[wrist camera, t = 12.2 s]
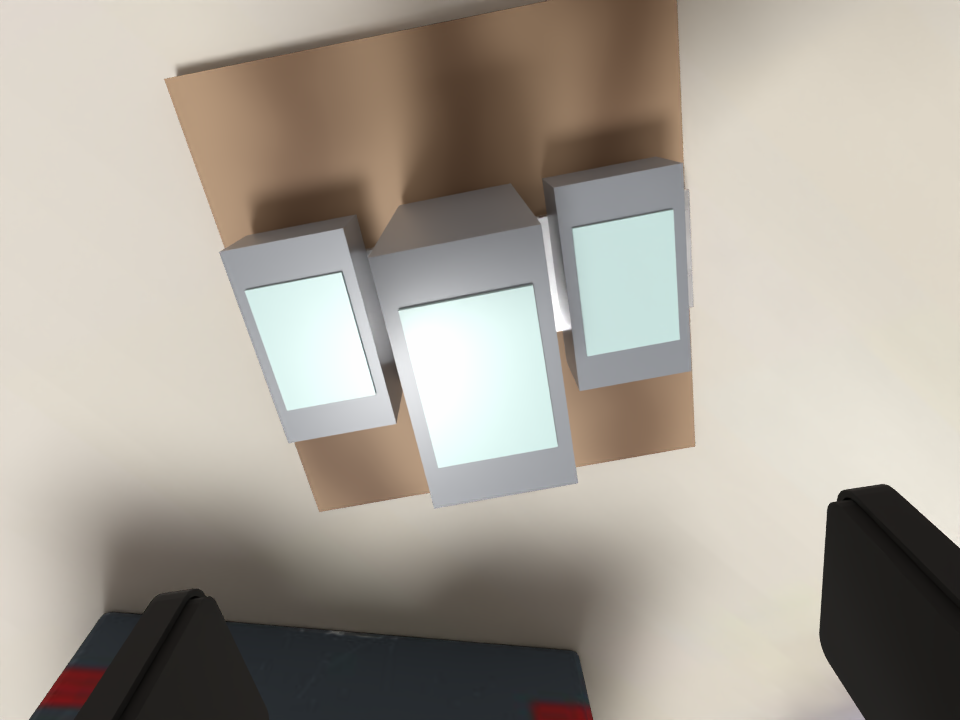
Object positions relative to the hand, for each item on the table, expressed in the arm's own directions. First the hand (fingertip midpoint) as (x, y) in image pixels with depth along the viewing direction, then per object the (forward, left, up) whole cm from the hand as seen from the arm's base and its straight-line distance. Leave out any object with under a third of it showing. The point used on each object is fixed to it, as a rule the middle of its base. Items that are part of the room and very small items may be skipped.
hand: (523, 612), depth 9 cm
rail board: (+1, 0, -19) cm, 19 cm away
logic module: (0, 0, -17) cm, 17 cm away
